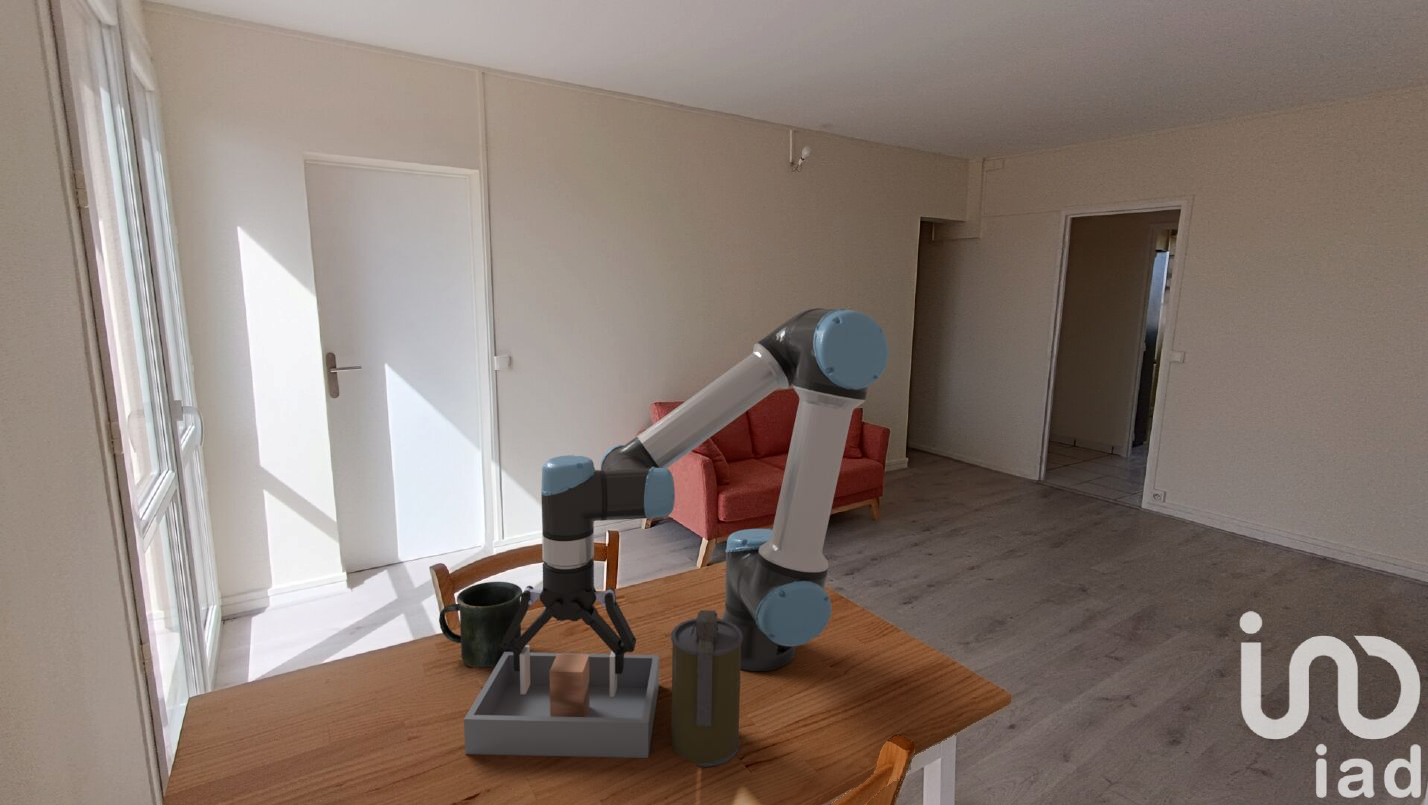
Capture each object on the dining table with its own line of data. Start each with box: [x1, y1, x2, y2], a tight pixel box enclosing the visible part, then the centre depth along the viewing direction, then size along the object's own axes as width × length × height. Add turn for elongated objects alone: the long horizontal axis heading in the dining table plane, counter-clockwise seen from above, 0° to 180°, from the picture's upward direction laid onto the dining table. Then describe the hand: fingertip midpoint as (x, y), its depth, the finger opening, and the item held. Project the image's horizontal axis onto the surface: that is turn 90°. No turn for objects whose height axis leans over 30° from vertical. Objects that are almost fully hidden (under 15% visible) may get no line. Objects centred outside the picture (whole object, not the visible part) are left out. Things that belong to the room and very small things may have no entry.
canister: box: [670, 609, 743, 768], centre depth 96 cm, size 11×10×20 cm
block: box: [549, 653, 590, 717], centre depth 102 cm, size 5×5×9 cm
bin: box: [463, 651, 660, 759], centre depth 102 cm, size 26×18×6 cm
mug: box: [438, 581, 523, 668], centre depth 120 cm, size 11×15×12 cm
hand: (569, 690), depth 102 cm, fingers open, 13 cm apart
